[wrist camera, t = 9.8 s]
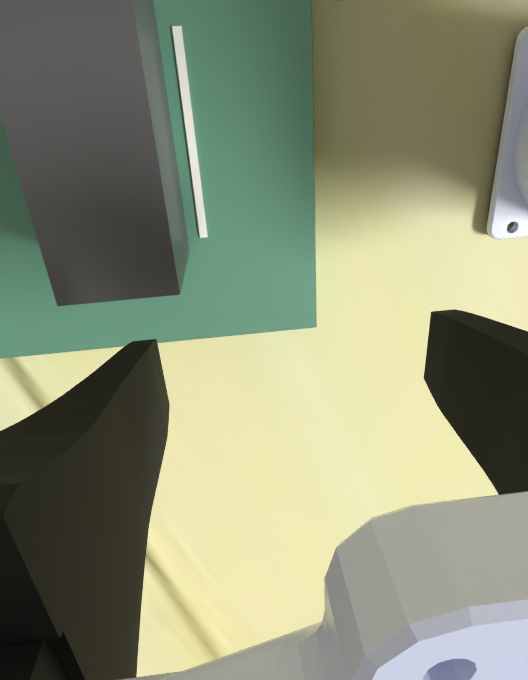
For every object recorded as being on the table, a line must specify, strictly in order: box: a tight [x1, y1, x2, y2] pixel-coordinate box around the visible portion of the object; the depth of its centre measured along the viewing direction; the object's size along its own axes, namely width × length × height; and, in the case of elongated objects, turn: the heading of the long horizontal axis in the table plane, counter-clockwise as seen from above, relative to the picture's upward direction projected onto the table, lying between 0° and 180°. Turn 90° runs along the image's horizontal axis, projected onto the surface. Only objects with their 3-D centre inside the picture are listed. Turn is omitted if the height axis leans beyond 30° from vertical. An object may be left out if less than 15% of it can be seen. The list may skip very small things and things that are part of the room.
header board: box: [0, 0, 317, 358], centre depth 16 cm, size 14×16×4 cm
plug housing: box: [0, 0, 190, 306], centre depth 13 cm, size 4×12×5 cm, turn 4°
